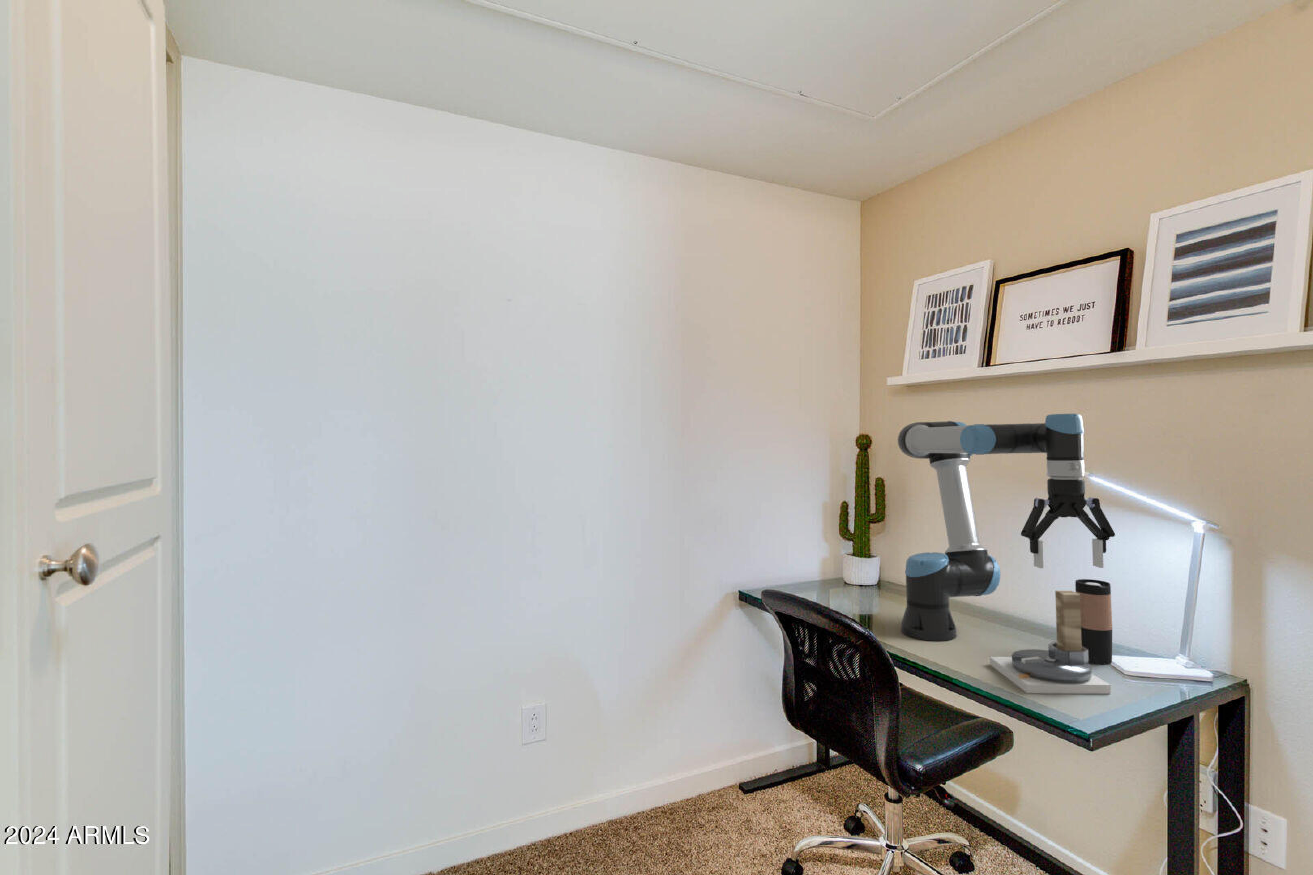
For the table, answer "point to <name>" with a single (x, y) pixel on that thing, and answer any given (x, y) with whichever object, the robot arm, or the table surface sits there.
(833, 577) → the table surface
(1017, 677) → the plate
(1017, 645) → the table surface
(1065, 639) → the stick
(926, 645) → the table surface
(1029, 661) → the dial
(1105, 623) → the travel mug
